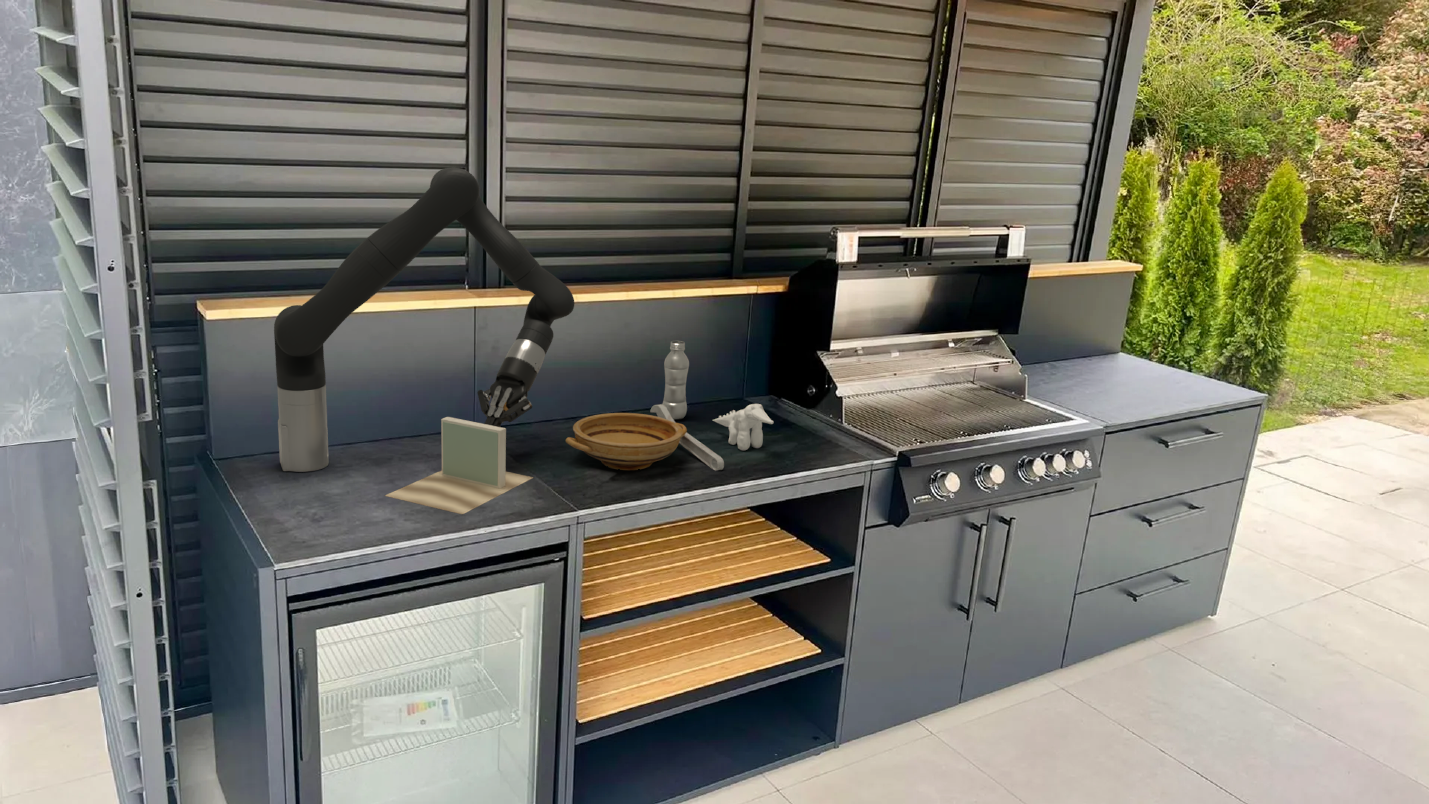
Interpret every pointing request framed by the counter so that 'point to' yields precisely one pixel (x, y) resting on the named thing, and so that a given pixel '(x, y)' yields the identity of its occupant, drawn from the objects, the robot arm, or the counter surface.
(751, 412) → the toy dinosaur
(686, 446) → the wrench
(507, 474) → the board
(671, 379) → the plastic bottle
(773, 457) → the counter surface
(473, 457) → the tile
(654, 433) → the ceramic bowl
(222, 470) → the counter surface
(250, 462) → the counter surface
